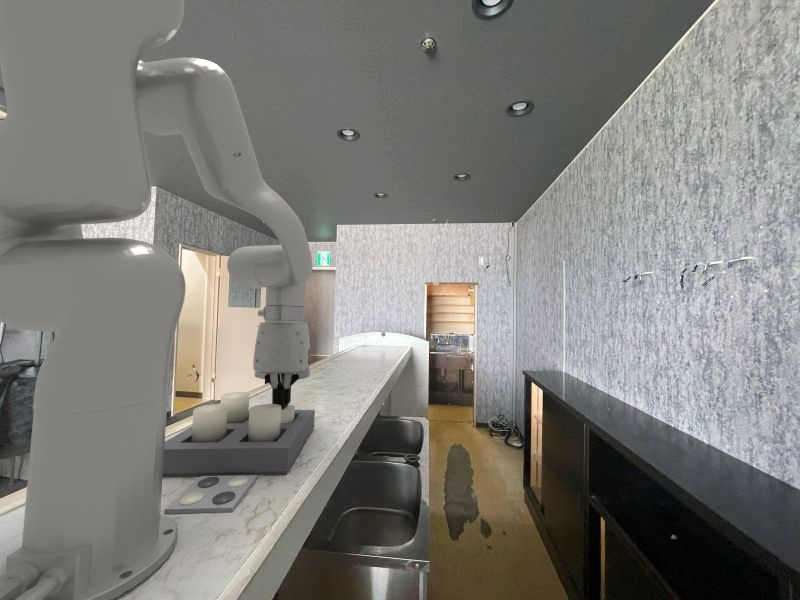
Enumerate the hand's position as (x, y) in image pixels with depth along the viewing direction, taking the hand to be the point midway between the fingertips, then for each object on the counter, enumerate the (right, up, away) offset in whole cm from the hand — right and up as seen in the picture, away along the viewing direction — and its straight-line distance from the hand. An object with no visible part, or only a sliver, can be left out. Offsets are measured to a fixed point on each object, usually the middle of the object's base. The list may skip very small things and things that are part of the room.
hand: (281, 407), depth 62 cm
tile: (-1, -5, -20) cm, 21 cm away
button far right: (0, -5, 0) cm, 5 cm away
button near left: (-8, -2, -10) cm, 13 cm away
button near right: (+1, -2, -9) cm, 9 cm away
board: (-4, -6, -5) cm, 9 cm away
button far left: (-9, -2, -1) cm, 9 cm away
